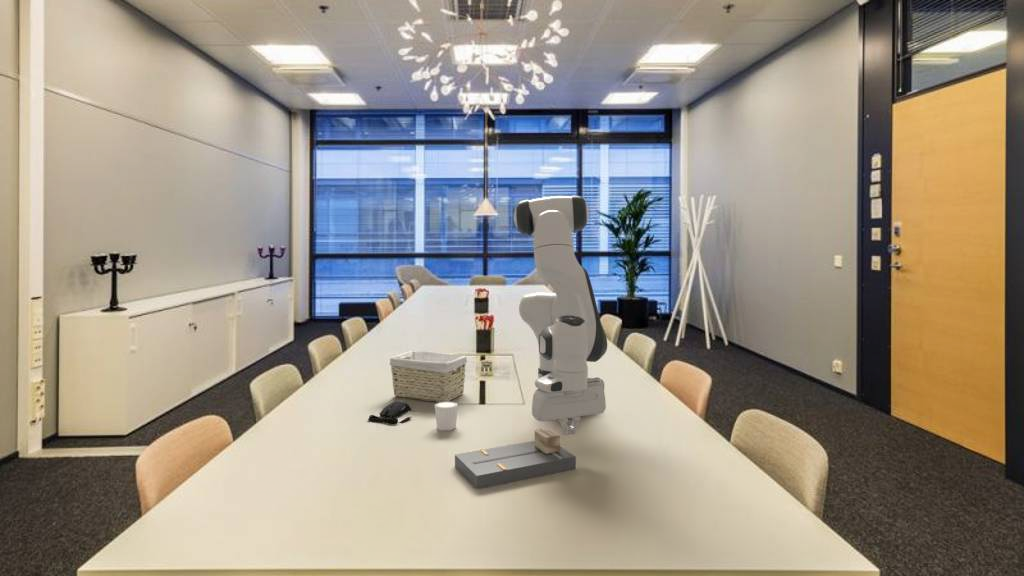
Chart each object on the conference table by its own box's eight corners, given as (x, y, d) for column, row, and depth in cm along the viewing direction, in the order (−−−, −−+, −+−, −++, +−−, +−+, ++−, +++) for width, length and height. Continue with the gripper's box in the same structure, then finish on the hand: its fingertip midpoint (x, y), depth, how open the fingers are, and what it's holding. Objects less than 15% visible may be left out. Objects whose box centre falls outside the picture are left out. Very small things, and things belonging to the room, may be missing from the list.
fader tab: (548, 443, 142) (548, 427, 142) (560, 451, 137) (560, 434, 136) (534, 445, 140) (534, 429, 140) (546, 453, 135) (546, 437, 134)
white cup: (453, 431, 161) (453, 408, 160) (431, 430, 162) (431, 406, 161) (460, 424, 167) (460, 401, 167) (439, 423, 169) (439, 400, 168)
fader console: (547, 449, 147) (547, 437, 146) (575, 468, 134) (575, 455, 134) (454, 466, 135) (454, 453, 135) (476, 488, 123) (476, 474, 122)
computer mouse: (429, 412, 181) (429, 400, 181) (396, 428, 165) (396, 415, 165) (399, 407, 186) (399, 396, 186) (364, 422, 171) (364, 409, 170)
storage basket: (468, 393, 203) (468, 354, 202) (446, 405, 188) (446, 362, 187) (413, 387, 212) (413, 349, 211) (388, 397, 197) (387, 357, 196)
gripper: (597, 374, 147) (596, 425, 148) (529, 381, 138) (528, 435, 139) (611, 379, 142) (610, 432, 142) (541, 386, 133) (540, 443, 134)
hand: (569, 433), depth 141 cm, fingers closed
